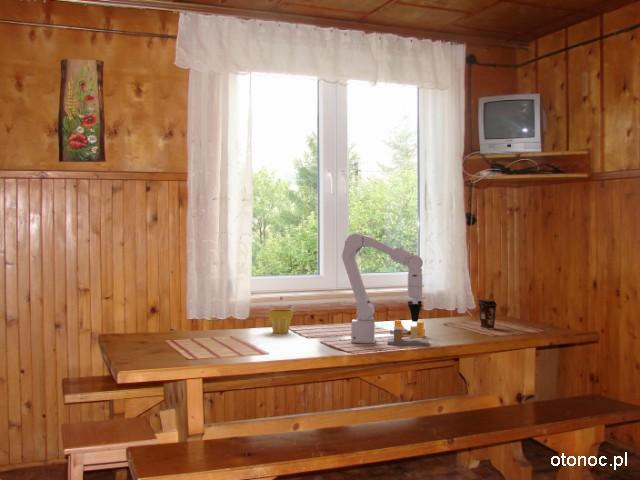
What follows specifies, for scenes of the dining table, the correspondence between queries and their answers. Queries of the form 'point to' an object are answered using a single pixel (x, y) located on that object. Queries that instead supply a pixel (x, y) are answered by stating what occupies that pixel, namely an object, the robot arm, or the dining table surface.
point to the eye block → (400, 341)
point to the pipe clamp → (420, 325)
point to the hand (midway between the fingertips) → (414, 320)
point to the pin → (409, 332)
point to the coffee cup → (487, 313)
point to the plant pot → (280, 319)
